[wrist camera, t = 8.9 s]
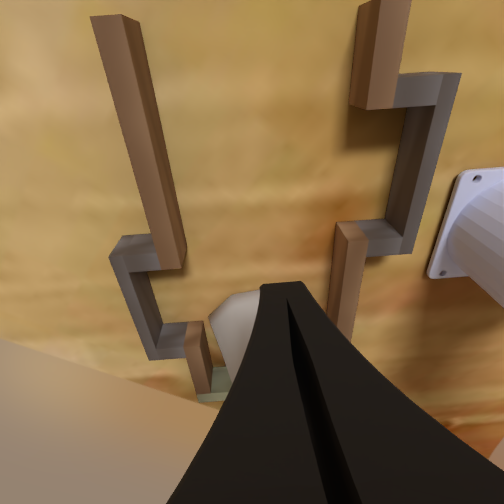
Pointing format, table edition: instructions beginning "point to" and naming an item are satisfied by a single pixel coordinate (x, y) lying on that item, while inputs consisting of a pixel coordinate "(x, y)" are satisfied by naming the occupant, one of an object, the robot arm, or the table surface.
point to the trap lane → (347, 233)
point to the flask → (235, 327)
